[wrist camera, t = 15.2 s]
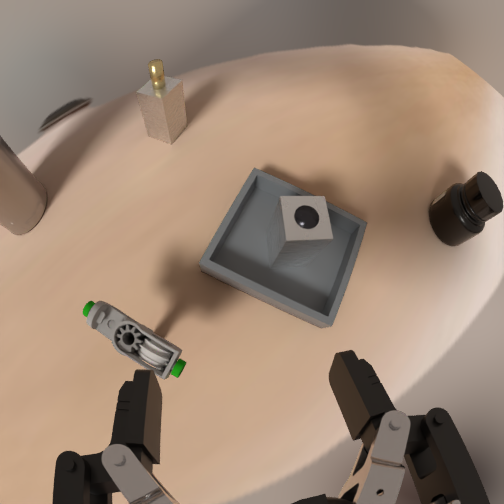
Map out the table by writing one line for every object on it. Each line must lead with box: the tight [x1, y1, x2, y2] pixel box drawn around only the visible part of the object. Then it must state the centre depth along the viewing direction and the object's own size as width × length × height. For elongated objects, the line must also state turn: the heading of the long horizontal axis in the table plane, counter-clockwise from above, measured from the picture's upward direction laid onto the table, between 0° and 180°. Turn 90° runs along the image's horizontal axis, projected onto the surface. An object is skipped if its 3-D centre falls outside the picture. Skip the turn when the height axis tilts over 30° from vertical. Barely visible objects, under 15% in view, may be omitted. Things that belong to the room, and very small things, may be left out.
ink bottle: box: [429, 171, 503, 246], centre depth 34 cm, size 10×9×12 cm
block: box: [266, 196, 333, 269], centre depth 30 cm, size 4×4×10 cm
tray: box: [199, 168, 367, 328], centre depth 34 cm, size 16×14×4 cm
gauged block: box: [136, 59, 187, 145], centre depth 34 cm, size 4×4×14 cm
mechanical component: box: [83, 301, 186, 380], centre depth 26 cm, size 3×10×10 cm, turn 63°
